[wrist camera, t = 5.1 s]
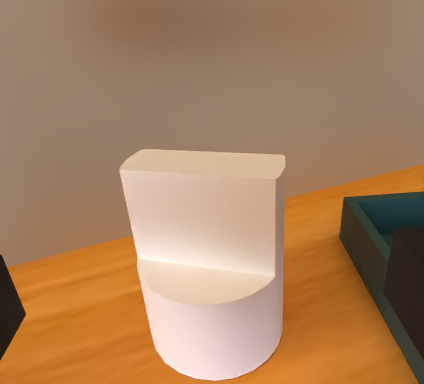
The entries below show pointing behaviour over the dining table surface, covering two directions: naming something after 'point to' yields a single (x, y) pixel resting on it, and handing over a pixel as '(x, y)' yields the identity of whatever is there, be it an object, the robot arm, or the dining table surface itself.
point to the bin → (382, 251)
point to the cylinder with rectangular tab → (209, 256)
